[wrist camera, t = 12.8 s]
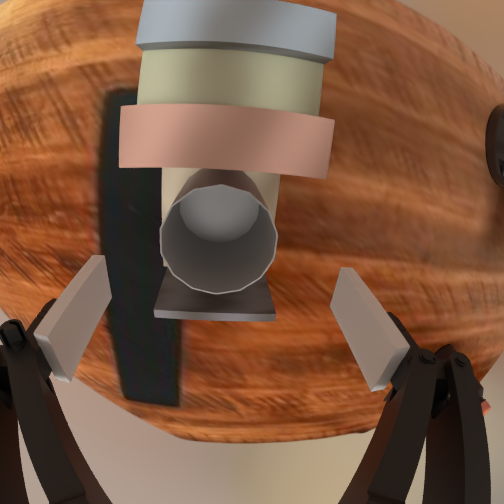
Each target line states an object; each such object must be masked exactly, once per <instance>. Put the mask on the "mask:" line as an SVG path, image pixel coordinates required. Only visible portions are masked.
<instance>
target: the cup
mask: <svg viewBox="0 0 504 504" xmlns="http://www.w3.org/2000/svg"><path fill="white" fill-rule="evenodd" d="M277 239H278V233H277V230H276V227H275V224H274V222H273V219H272V216H271V213H270V211H269V209H268V207H267V205H266V203H265V201H264V199H263V197H262V196H261V194H260V192H259V190H258V188H257V186H256V184H255V183H254V181H253V180H252V179H251V178H250V177H248V176H247V175H246V174H245V173H244V172H243V171H240V170H225V169H205V168H202V169H200V170H199V171H197V172H196V173H195V174H193V175H192V176H190V177H189V178H188V179H187V181H186V183H185V184H184V186H183V187H182V189H181V190H180V192H179V194H178V195H177V197H176V198H175V200H174V202H173V203H172V205H171V207H170V209H169V211H168V213H167V215H166V217H165V219H164V221H163V223H162V225H161V227H160V251H161V255H162V257H163V259H164V261H165V262H166V264H167V266H168V268H169V269H170V271H171V273H172V275H174V276H175V277H176V278H178V279H179V280H180V281H182V282H183V283H185V284H186V285H187V286H189V287H190V288H192V289H195V290H199V291H203V292H207V293H211V294H223V293H229V292H236V291H241V290H242V289H244V288H246V287H247V286H249V285H251V284H252V283H254V282H256V281H257V280H259V279H261V278H262V276H263V275H264V273H265V272H266V270H267V269H268V268H269V266H270V265H271V263H272V262H273V260H274V259H275V253H276V246H277Z"/></svg>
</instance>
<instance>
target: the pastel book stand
mask: <svg viewBox="0 0 504 504" xmlns="http://www.w3.org/2000/svg"><path fill="white" fill-rule="evenodd" d="M335 33H336V14H335V13H332V12H328V11H324V10H321V9H317V8H313V7H308V6H304V5H299V4H294V3H289V2H283V1H277V0H144V4H143V9H142V13H141V18H140V23H139V28H138V33H137V38H136V45H137V46H138V47H139V48H141V49H142V50H143V56H142V63H141V71H140V79H139V88H138V99H137V105H129V106H121V116H120V138H119V168H133V167H162V223H163V221H164V219H165V217H166V215H167V213H168V211H169V209H170V207H171V205H172V203H173V202H174V200H175V198H176V197H177V195H178V194H179V192H180V190H181V189H182V187H183V186H184V184H185V183H186V181H187V179H188V178H189V177H190V176H192V175H193V174H195V173H196V172H197V171H199V170H200V169H202V168H205V169H225V170H240V171H243V172H244V173H245V174H246V175H247V176H248V177H250V178H251V179H252V180H253V181H254V183H255V184H256V186H257V188H258V190H259V192H260V194H261V196H262V197H263V199H264V201H265V203H266V205H267V207H268V209H269V211H270V213H271V216H272V219H273V222H275V214H276V207H277V199H278V191H279V183H280V175H281V174H286V175H295V176H304V177H312V178H320V179H327V173H328V166H329V160H330V153H331V146H332V138H333V131H334V123H335V120H332V119H327V118H322V117H318V116H319V108H320V99H321V89H322V79H323V69H324V64H325V63H327V62H329V61H331V60H333V59H334V48H335ZM163 262H164V266H167V264H166V262H165V261H164V259H163ZM266 271H268V269H267V270H266ZM154 314H155V317H159V318H174V319H192V320H215V321H275V317H276V312H275V308H274V305H273V301H272V297H271V294H270V290H269V287H268V283H267V279H266V276H265V273H264V275H263V276H262V278H261V279H259V280H257V281H256V282H254V283H252V284H251V285H249V286H247V287H246V288H244V289H242V290H241V291H236V292H229V293H223V294H211V293H207V292H203V291H199V290H195V289H192V288H190V287H189V286H187V285H186V284H185V283H183V282H182V281H180V280H179V279H178V278H176V277H175V276H174V275H172V273H171V271H170V269H169V268H168V267H167V270H166V273H165V276H164V279H163V282H162V285H161V288H160V291H159V295H158V298H157V301H156V304H155V307H154Z"/></svg>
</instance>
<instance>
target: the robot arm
mask: <svg viewBox="0 0 504 504" xmlns="http://www.w3.org/2000/svg"><path fill="white" fill-rule="evenodd" d="M486 154H487V161H488V166H489V170H490V173H491V175H492V178H493V179H494V181H495V182H496V183H497V184H498V185H499V186H501V187H503V188H504V106H503V105H501V106H498V107H497V108H495V109H494V111H493V112H492V114H491V116H490V119H489V122H488V127H487V134H486ZM111 298H112V296H111V291H110V285H109V280H108V274H107V268H106V262H105V256H101V255H92V257H91V258H90V259H89V260H88V261H87V262H86V264H85V265H84V266H83V267H82V268H81V270H80V271H79V272H78V273H77V275H76V276H75V277H74V278H73V280H72V281H71V282H70V283H69V285H68V286H67V287H66V288H65V290H64V291H63V292H62V294H61V295H60V296H59V298H58V299H54V298H53V299H52V300H51V301H49V302H48V303H46V304H45V306H44V307H43V308H42V310H41V312H39V314H38V315H37V317H36V318H35V319H34V321H33V322H32V323H31V325H30V326H29V328H28V329H27V331H25V329H24V327H23V325H22V322H21V321H19V320H17V319H12V320H8V321H6V322H4V323H3V324H2V325H1V326H0V339H1V341H2V343H3V345H0V504H29V501H28V497H27V492H26V488H25V482H24V477H23V471H22V464H21V457H20V448H19V436H18V421H19V425H20V428H21V432H22V434H23V438H24V441H25V444H26V447H27V450H28V453H29V456H30V459H31V461H32V464H33V467H34V469H35V471H36V474H37V476H38V479H39V481H40V483H41V486H42V488H43V490H44V492H45V494H46V496H47V498H48V500H49V504H112V502H111V501H110V499H109V498H108V496H107V495H106V494H105V492H104V490H103V489H102V488H101V486H100V484H99V483H98V481H97V479H96V478H95V476H94V475H93V473H92V471H91V469H90V467H89V466H88V464H87V462H86V460H85V458H84V456H83V455H82V453H81V451H80V449H79V447H78V445H77V443H76V441H75V439H74V437H73V434H72V432H71V430H70V428H69V426H68V423H67V421H66V419H65V416H64V414H63V411H62V409H61V406H60V404H59V401H58V399H57V396H56V393H55V390H54V387H53V385H52V382H51V380H50V378H49V376H50V373H51V371H52V372H53V374H54V376H55V377H56V379H58V380H61V381H65V382H68V383H70V382H71V380H72V378H73V375H74V373H75V371H76V369H77V366H78V364H79V362H80V360H81V357H82V355H83V353H84V351H85V349H86V347H87V345H88V343H89V341H90V339H91V336H92V334H93V332H94V330H95V328H96V326H97V324H98V323H99V321H100V319H101V317H102V315H103V313H104V311H105V309H106V307H107V305H108V304H109V302H110V300H111ZM330 308H331V310H332V312H333V314H334V316H335V318H336V320H337V322H338V324H339V326H340V328H341V330H342V332H343V334H344V336H345V338H346V340H347V342H348V344H349V346H350V348H351V350H352V352H353V354H354V357H355V359H356V361H357V363H358V365H359V367H360V369H361V371H362V373H363V375H364V378H365V380H366V382H367V384H368V386H369V388H370V390H371V392H372V391H377V390H382V389H385V388H386V386H387V385H388V383H389V381H391V383H392V385H393V387H392V389H391V390H390V392H389V393H388V395H387V396H386V397H385V399H384V400H383V401H386V400H387V401H386V404H385V407H384V409H383V412H382V415H381V417H380V420H379V422H378V425H377V427H376V430H375V432H374V435H373V437H372V439H371V441H370V444H369V446H368V448H367V450H366V453H365V455H364V457H363V459H362V461H361V463H360V465H359V467H358V469H357V471H356V473H355V475H354V477H353V478H352V480H351V482H350V484H349V486H348V488H347V489H346V491H345V493H344V495H343V496H342V498H341V500H340V501H339V503H338V504H405V500H406V497H407V494H408V492H409V489H410V486H411V484H412V481H413V478H414V475H415V472H416V469H417V466H418V462H419V459H420V455H421V452H422V448H423V445H424V441H425V437H426V466H425V481H424V482H425V483H424V493H423V501H422V504H491V480H490V463H489V452H488V443H487V435H486V428H485V422H484V416H483V411H482V406H481V401H480V397H479V392H478V388H477V384H476V380H475V376H474V373H473V369H472V366H471V362H470V360H469V359H468V358H467V357H466V355H464V354H462V353H459V352H454V353H452V354H451V355H450V357H449V358H448V360H444V359H437V357H436V356H435V355H434V354H433V353H432V352H431V351H429V350H427V349H420V348H419V347H418V345H417V344H416V342H415V341H414V340H413V338H412V337H411V335H410V334H409V333H408V331H406V328H405V327H404V326H403V324H402V323H401V322H400V320H399V319H398V318H397V317H396V316H395V315H393V314H392V313H391V312H386V311H385V310H384V308H383V307H382V306H381V304H380V303H379V302H378V300H377V299H376V298H375V296H374V295H373V294H372V292H371V291H370V290H369V288H368V287H367V286H366V284H365V283H364V282H363V280H362V279H361V278H360V277H359V275H358V274H357V273H356V271H355V270H354V269H353V268H347V267H341V269H340V272H339V276H338V280H337V283H336V287H335V290H334V294H333V297H332V301H331V304H330Z"/></svg>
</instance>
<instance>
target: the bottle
mask: <svg viewBox="0 0 504 504" xmlns="http://www.w3.org/2000/svg"><path fill="white" fill-rule="evenodd" d="M454 352H456V351H455V349H454V348H453V347H452V346H451V345H446V346H444V347H442V348H441V349H440V350H438V351H437V352H436V353H435V356H436V357H437V359H444V360H448V358H449V357H450V355H451V354H452V353H454ZM475 380H476V384H477V388H478V392H479V397H480V401H481V406H482V411H483V416H484V415H485V414H486V413H487V412H488V411H489V410H490V408H491V407H490V405H489V404H488V402H487V401H485V400H486V399H483V397H482V396H483V387H482V386H481V384H480V383H479V381H478V380H477V378H476V377H475Z"/></svg>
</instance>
